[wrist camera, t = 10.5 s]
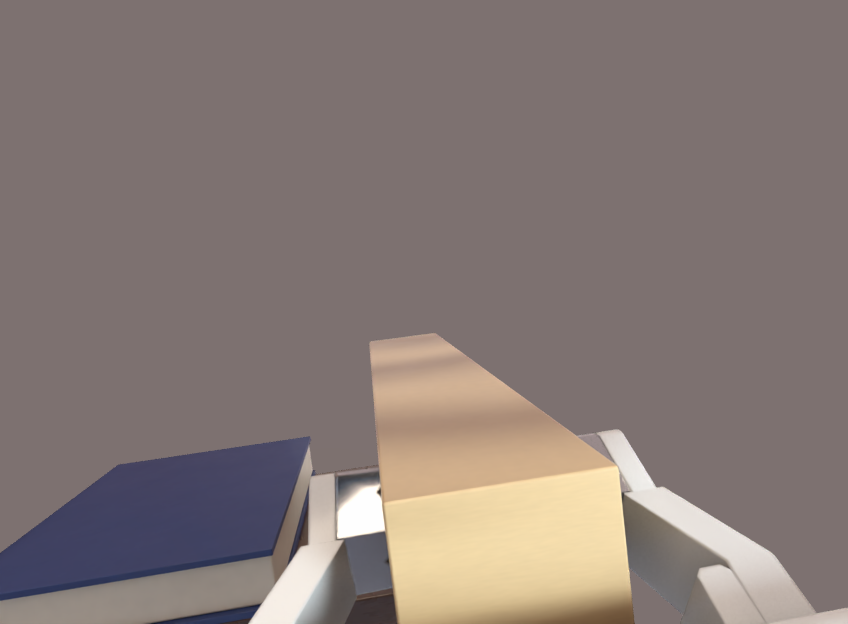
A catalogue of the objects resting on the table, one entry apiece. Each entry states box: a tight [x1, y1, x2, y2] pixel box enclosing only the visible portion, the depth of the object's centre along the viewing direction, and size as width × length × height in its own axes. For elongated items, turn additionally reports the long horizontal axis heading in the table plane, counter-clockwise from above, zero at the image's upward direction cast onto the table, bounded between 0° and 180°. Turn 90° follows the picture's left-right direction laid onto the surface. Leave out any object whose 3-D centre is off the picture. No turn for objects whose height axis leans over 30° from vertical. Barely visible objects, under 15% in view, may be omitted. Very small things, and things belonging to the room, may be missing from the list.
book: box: [0, 437, 315, 624], centre depth 26 cm, size 14×10×2 cm
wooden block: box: [369, 333, 635, 624], centre depth 20 cm, size 23×4×3 cm, turn 6°
